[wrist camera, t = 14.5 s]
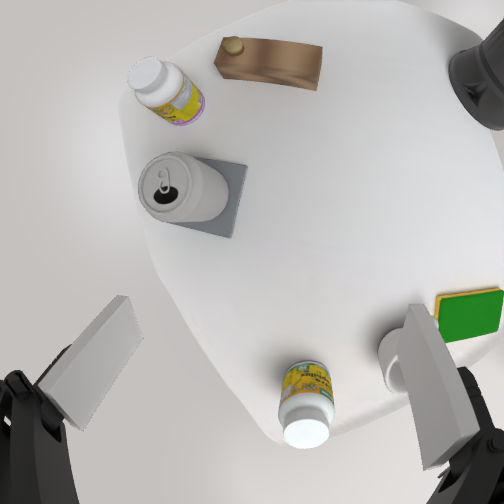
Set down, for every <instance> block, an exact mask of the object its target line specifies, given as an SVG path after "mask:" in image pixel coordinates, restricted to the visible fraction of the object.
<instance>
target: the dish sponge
mask: <svg viewBox="0 0 504 504" xmlns="http://www.w3.org/2000/svg"><path fill="white" fill-rule="evenodd" d="M503 298H504V291H503V290H501V289H499V288H493V289H487V290H480V291H473V292H466V293H458V294H450V295H441V296H438V297H437V298H436V305H435V314H434V317H435V318H436V319H437V321H438V324H439V327H438V330H439V332H440V334H441V336H442V338H443V340H444V342H445V343H448V342H453V341H458V340H463V339H468V338H472V337H477V336H481V335H485V334H489V333H493V332H497V330H498V328H499V322H500V317H501V311H502V305H503Z"/></svg>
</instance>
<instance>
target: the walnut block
mask: <svg viewBox="0 0 504 504" xmlns="http://www.w3.org/2000/svg"><path fill="white" fill-rule="evenodd" d="M321 63H322V47H320V46H314V45H309V44H302V43H295V42H288V41H279V40H269V39H256V38H239V37H236V36H232V37H223V40H222V42H221V45H220V48H219V50H218V53H217V56H216V59H215V61H214V64H215V65H216V67H217V69H218V70H219V72H220V73H221V75H222V76H223V78H224V79H236V80H247V81H257V82H266V83H273V84H280V85H287V86H293V87H299V88H304V89H309V90H314V91H316V90H317V85H318V80H319V75H320V69H321Z"/></svg>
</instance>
